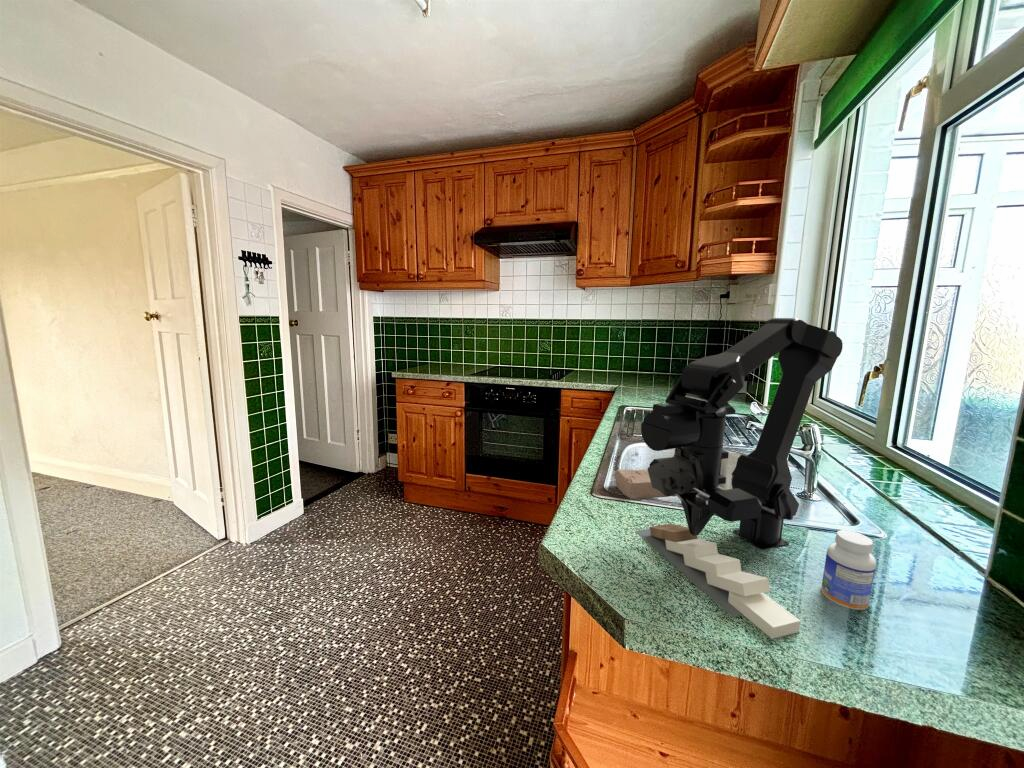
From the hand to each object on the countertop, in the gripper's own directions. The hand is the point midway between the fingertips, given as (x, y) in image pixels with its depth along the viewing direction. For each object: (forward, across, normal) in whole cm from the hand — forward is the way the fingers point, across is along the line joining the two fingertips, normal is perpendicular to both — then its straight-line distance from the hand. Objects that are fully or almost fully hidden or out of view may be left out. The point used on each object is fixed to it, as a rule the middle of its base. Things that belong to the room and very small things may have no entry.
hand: (694, 534), depth 67 cm
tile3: (+4, +1, 0) cm, 4 cm away
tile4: (+4, +6, 0) cm, 7 cm away
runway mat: (+5, +1, 0) cm, 5 cm away
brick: (+5, -26, +11) cm, 29 cm away
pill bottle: (+5, +14, +15) cm, 21 cm away
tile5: (+4, +10, 0) cm, 11 cm away
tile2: (+4, -4, 0) cm, 5 cm away
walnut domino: (+4, -8, 0) cm, 9 cm away
